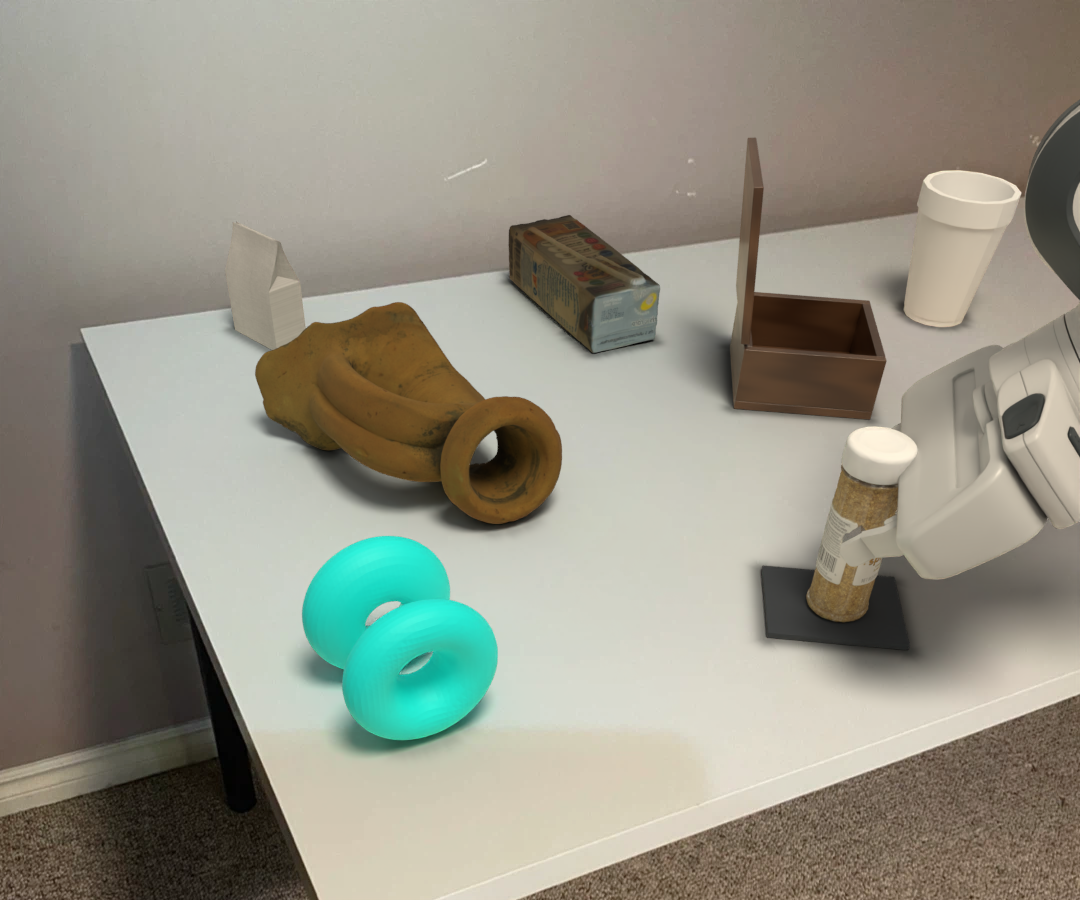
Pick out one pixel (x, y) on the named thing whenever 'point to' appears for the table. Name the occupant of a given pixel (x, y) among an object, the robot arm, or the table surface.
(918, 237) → the foam cup
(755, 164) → the box lid
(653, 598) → the table surface
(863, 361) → the walnut box
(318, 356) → the brown looped sculpture
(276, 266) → the white gable top carton
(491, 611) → the table surface
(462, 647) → the donuts
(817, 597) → the spice jar
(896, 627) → the felt mat
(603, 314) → the beverage carton
